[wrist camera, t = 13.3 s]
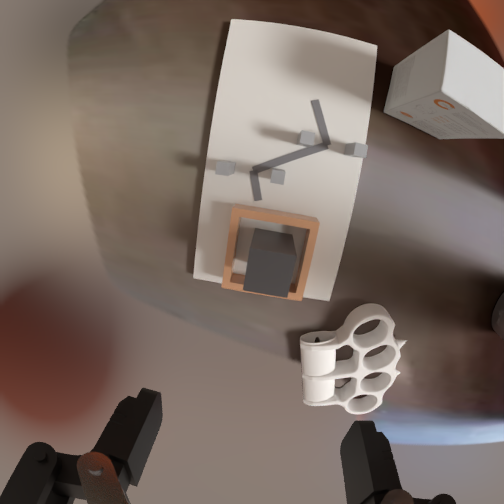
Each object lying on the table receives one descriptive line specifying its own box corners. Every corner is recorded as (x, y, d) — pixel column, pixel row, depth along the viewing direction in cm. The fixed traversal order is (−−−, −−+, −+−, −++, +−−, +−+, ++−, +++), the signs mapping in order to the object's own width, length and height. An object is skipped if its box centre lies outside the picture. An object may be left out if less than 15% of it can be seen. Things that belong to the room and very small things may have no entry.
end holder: (316, 217, 31) (319, 222, 28) (299, 291, 33) (301, 301, 31) (235, 203, 31) (232, 207, 29) (225, 278, 34) (221, 287, 31)
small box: (448, 94, 25) (517, 78, 13) (439, 140, 28) (511, 141, 15) (392, 65, 25) (448, 26, 13) (381, 112, 27) (440, 92, 15)
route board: (374, 48, 25) (389, 33, 20) (327, 297, 35) (334, 318, 30) (232, 22, 25) (225, 3, 21) (195, 274, 35) (183, 293, 30)
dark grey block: (292, 234, 31) (296, 256, 25) (285, 269, 33) (287, 297, 26) (255, 227, 32) (249, 247, 25) (249, 262, 33) (242, 290, 26)
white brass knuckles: (297, 310, 36) (407, 295, 34) (303, 406, 41) (391, 393, 40) (299, 324, 33) (417, 308, 31) (304, 422, 38) (397, 407, 37)
